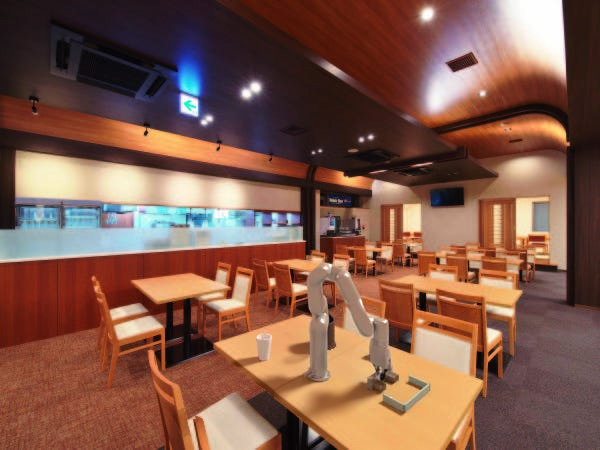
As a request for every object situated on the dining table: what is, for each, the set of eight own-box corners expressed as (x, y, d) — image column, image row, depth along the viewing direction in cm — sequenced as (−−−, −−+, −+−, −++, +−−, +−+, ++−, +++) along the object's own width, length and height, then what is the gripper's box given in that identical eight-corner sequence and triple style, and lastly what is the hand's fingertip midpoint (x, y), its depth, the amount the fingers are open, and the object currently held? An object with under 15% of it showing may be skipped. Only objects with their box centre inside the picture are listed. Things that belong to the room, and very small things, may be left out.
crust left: (380, 393, 131) (380, 387, 131) (373, 389, 134) (373, 383, 134) (386, 389, 135) (386, 383, 135) (379, 385, 138) (379, 379, 138)
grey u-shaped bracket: (404, 415, 117) (404, 405, 117) (382, 402, 126) (382, 394, 126) (430, 392, 134) (430, 383, 134) (409, 382, 142) (409, 374, 142)
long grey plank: (371, 389, 133) (371, 379, 133) (367, 387, 135) (367, 377, 135) (392, 374, 146) (392, 365, 146) (388, 372, 148) (388, 363, 148)
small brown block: (393, 383, 139) (393, 378, 139) (386, 380, 142) (386, 374, 142) (398, 380, 143) (398, 374, 143) (391, 377, 146) (391, 371, 146)
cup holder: (336, 339, 193) (336, 304, 193) (337, 355, 169) (337, 315, 169) (310, 338, 195) (310, 303, 195) (307, 354, 171) (307, 314, 171)
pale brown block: (379, 359, 165) (380, 342, 165) (369, 356, 169) (369, 340, 169) (382, 357, 168) (382, 340, 168) (371, 353, 172) (371, 338, 172)
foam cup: (272, 354, 170) (272, 333, 170) (271, 361, 161) (271, 339, 161) (257, 354, 170) (257, 333, 170) (255, 362, 161) (255, 340, 161)
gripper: (363, 340, 144) (363, 374, 144) (391, 350, 132) (390, 388, 132) (371, 336, 149) (371, 369, 149) (398, 346, 137) (398, 382, 137)
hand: (380, 378), depth 141 cm, fingers closed on long grey plank, 2 cm apart
